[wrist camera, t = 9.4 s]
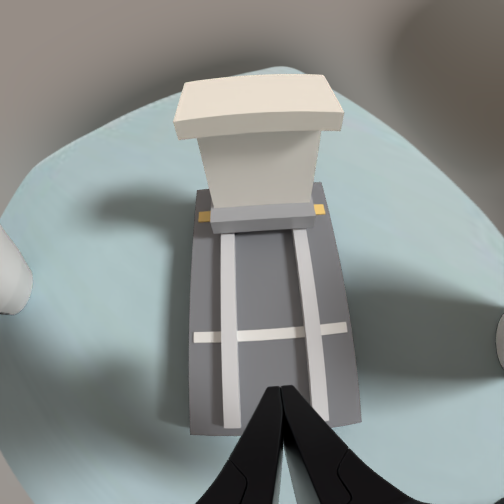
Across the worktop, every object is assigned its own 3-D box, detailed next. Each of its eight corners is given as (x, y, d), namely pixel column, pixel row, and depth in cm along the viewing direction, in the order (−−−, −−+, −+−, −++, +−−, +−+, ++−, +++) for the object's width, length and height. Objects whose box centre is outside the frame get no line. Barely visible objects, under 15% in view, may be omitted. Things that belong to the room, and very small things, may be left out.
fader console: (351, 419, 14) (365, 423, 12) (199, 430, 14) (187, 436, 12) (317, 199, 22) (322, 176, 19) (202, 206, 22) (195, 184, 20)
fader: (319, 227, 17) (345, 115, 10) (207, 234, 17) (172, 124, 10) (309, 178, 19) (322, 73, 12) (209, 185, 19) (185, 81, 12)
